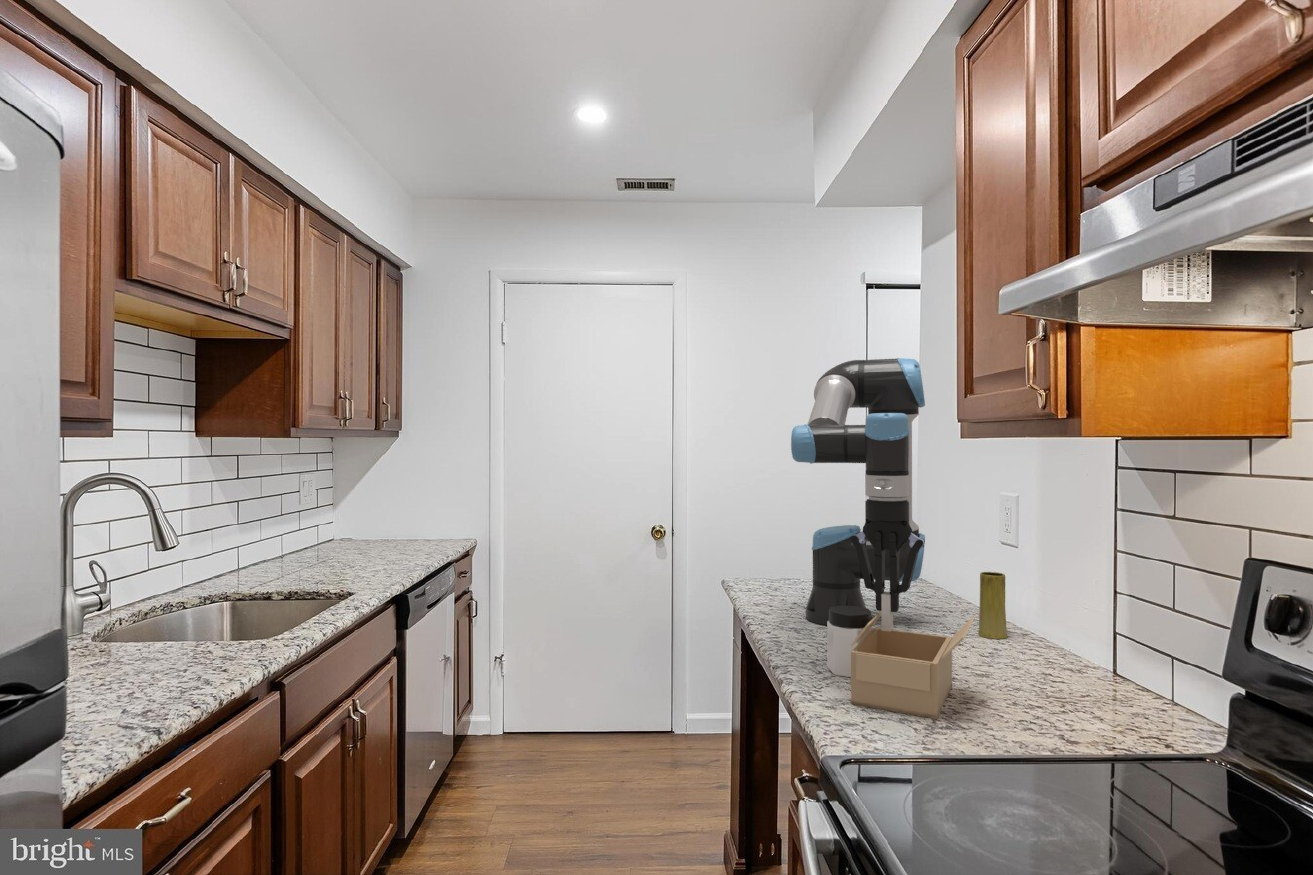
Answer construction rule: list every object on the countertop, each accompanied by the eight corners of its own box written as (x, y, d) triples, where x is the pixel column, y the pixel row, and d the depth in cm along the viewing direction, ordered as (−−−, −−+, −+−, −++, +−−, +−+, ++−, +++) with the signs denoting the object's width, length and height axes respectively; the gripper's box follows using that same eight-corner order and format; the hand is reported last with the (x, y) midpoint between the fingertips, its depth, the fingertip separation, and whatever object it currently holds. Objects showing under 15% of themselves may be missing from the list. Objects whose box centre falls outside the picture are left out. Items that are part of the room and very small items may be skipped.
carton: (875, 673, 142) (875, 626, 142) (952, 684, 135) (952, 636, 135) (850, 704, 125) (850, 652, 125) (936, 720, 119) (936, 664, 119)
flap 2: (973, 615, 132) (974, 616, 132) (954, 633, 134) (956, 635, 133) (962, 637, 118) (964, 638, 118) (941, 657, 120) (943, 658, 119)
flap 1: (873, 624, 141) (872, 623, 141) (888, 605, 139) (887, 604, 139) (852, 646, 127) (850, 644, 127) (868, 625, 125) (867, 623, 125)
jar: (850, 681, 137) (850, 617, 137) (818, 669, 144) (818, 609, 144) (882, 672, 142) (882, 611, 142) (850, 661, 149) (849, 603, 149)
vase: (1004, 640, 164) (1004, 577, 164) (975, 636, 167) (975, 574, 167) (1009, 634, 169) (1009, 573, 169) (981, 630, 172) (981, 570, 172)
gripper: (845, 498, 131) (845, 629, 132) (921, 501, 125) (921, 639, 125) (855, 495, 138) (856, 620, 138) (928, 498, 132) (928, 628, 132)
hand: (887, 629), depth 132 cm, fingers closed
